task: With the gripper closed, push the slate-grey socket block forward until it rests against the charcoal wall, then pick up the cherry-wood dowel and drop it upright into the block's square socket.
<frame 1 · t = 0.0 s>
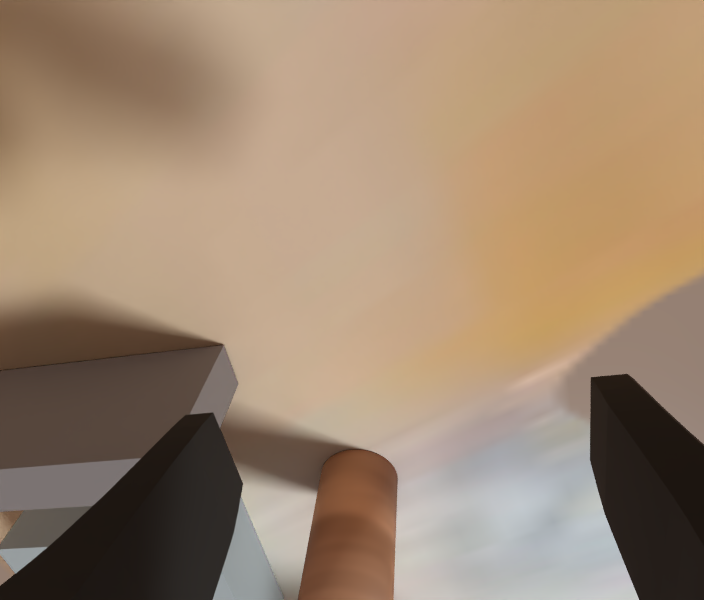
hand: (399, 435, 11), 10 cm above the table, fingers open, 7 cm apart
socket block: (171, 538, 31), on the table
charcoal wall: (100, 379, 25), on the table
dowel: (359, 477, 26), on the table
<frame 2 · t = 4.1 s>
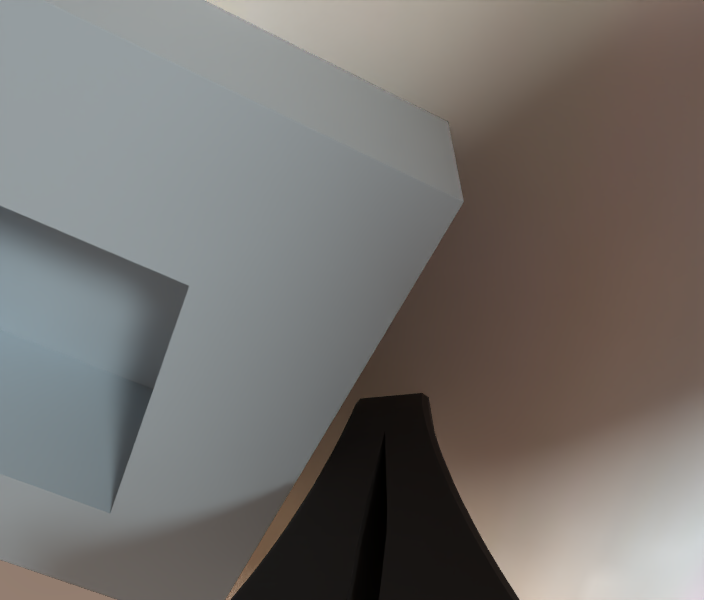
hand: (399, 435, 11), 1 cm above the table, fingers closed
socket block: (105, 234, 12), on the table
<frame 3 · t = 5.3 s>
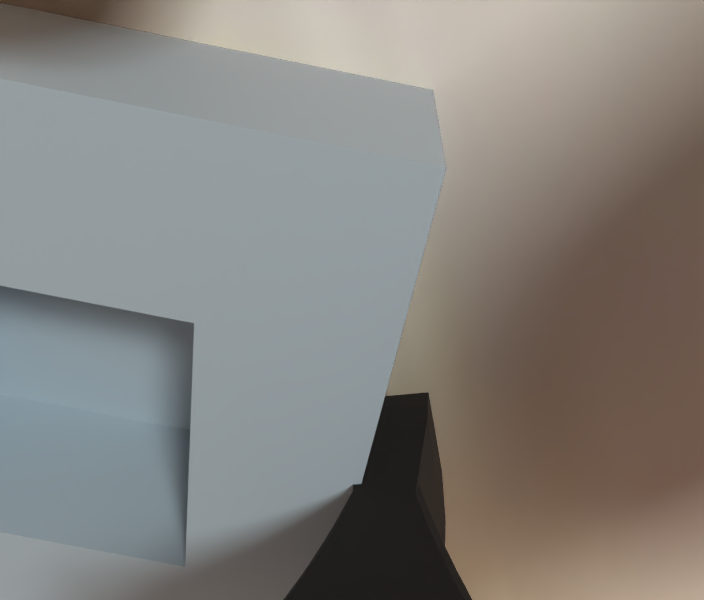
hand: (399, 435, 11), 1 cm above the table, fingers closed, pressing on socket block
socket block: (132, 292, 12), on the table, touching charcoal wall, gripper
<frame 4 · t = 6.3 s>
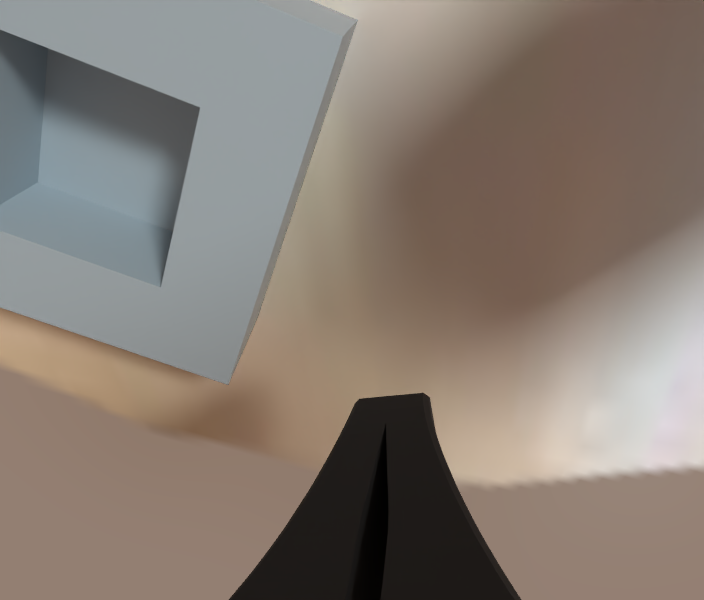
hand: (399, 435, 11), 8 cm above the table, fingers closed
socket block: (144, 126, 17), on the table
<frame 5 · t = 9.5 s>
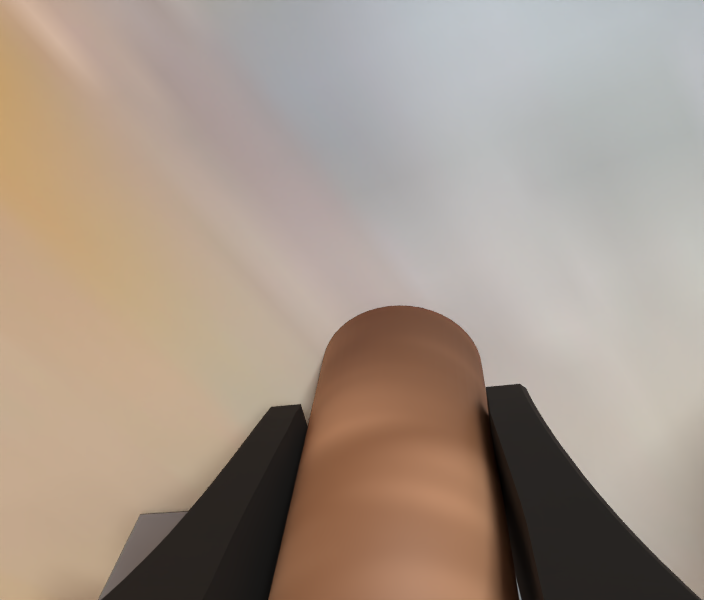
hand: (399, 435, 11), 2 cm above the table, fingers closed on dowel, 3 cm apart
dowel: (401, 373, 13), on the table, touching gripper
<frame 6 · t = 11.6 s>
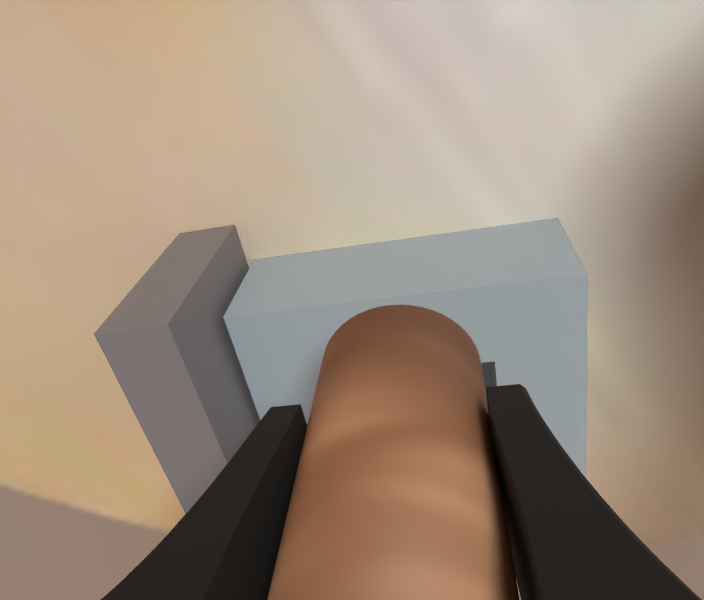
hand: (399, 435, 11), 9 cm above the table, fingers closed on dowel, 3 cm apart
socket block: (419, 356, 22), on the table
charcoal wall: (256, 370, 22), on the table
dowel: (400, 372, 13), point 7 cm above the table, touching gripper
when the fingers open (5 cm above the table, at t = 13.5 s): dowel drops 2 cm, resting on socket block.
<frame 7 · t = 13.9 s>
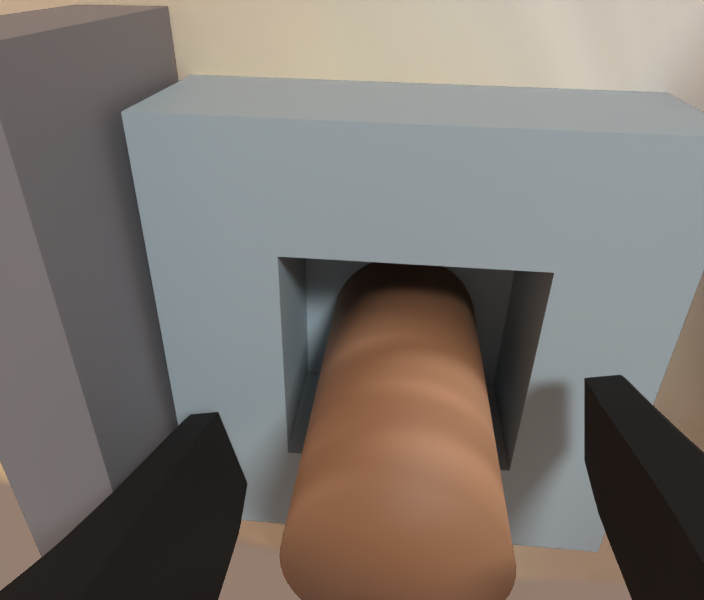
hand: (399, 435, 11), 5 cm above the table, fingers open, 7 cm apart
socket block: (406, 279, 15), on the table, touching dowel
charcoal wall: (167, 263, 15), on the table
dowel: (403, 317, 15), resting on socket block
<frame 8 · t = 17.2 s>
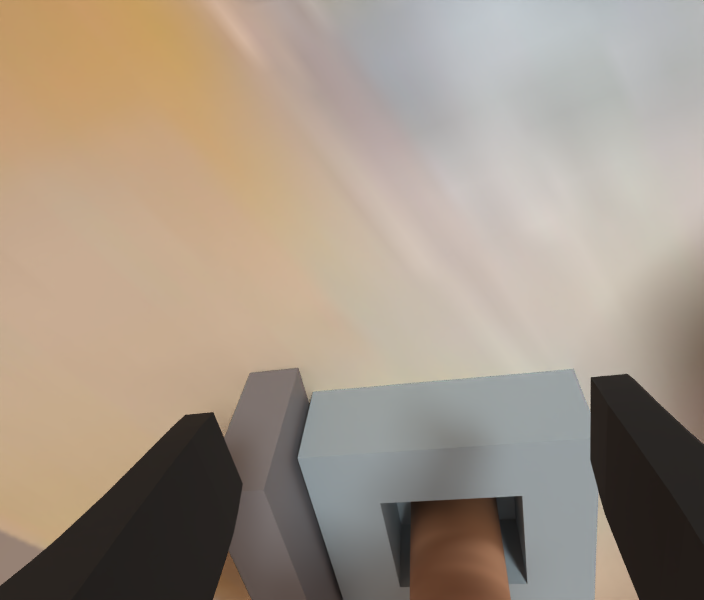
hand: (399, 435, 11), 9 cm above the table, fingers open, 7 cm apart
socket block: (450, 464, 25), on the table, touching dowel
charcoal wall: (309, 477, 26), on the table
dowel: (452, 489, 24), point 1 cm above the table, touching socket block
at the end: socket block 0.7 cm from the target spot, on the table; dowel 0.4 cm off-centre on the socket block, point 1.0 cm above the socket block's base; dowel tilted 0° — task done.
